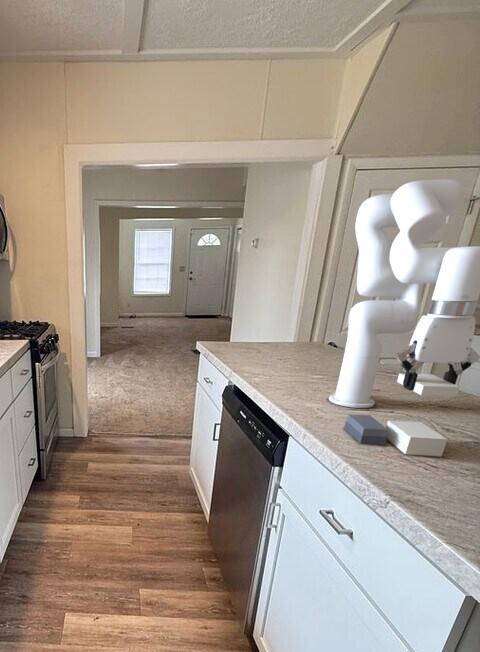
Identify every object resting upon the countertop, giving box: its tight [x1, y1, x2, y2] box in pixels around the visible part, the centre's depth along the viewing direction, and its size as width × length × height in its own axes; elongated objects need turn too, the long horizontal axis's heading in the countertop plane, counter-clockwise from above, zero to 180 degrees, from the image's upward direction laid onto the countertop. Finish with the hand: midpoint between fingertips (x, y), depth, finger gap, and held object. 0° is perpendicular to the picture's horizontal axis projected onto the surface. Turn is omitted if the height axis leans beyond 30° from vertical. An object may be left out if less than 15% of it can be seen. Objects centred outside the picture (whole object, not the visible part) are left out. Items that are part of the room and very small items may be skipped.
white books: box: [385, 420, 448, 457], centre depth 97 cm, size 11×8×4 cm
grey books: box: [343, 414, 388, 446], centre depth 103 cm, size 11×6×4 cm, turn 169°
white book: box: [396, 372, 461, 397], centre depth 93 cm, size 11×7×2 cm, turn 169°
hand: (426, 389), depth 93 cm, fingers closed on white book, 7 cm apart
